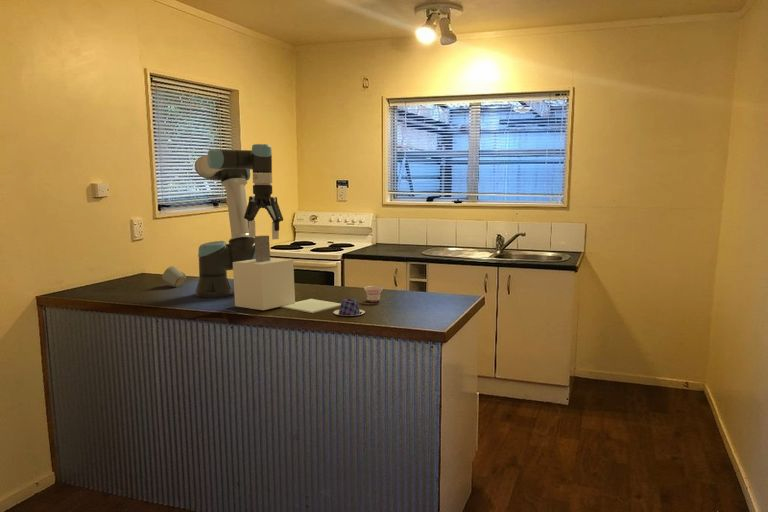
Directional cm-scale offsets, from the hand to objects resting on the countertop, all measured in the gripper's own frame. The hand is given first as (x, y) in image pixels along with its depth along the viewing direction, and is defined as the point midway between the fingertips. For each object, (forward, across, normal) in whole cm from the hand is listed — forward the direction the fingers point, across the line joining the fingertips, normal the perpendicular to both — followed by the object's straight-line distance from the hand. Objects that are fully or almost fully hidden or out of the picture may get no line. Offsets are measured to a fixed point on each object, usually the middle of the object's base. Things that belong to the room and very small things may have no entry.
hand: (263, 238), depth 237 cm
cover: (+27, 0, 0) cm, 27 cm away
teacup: (+27, +31, +32) cm, 52 cm away
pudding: (+28, +36, +10) cm, 47 cm away
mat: (+27, +16, +10) cm, 33 cm away
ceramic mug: (+28, -66, +4) cm, 72 cm away
